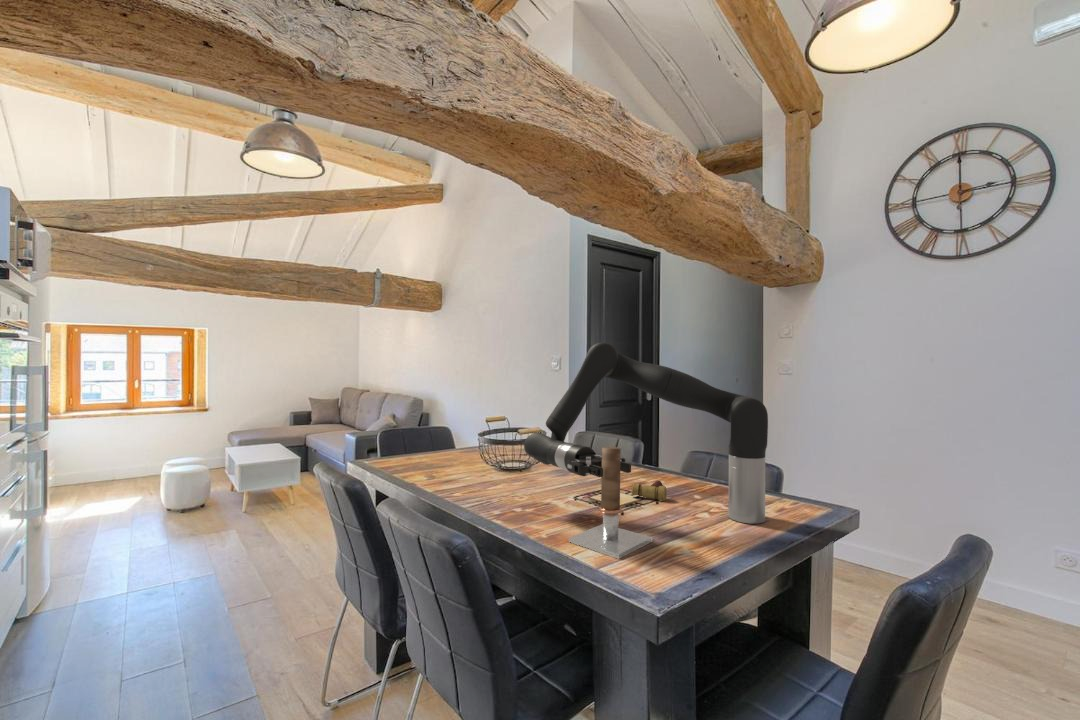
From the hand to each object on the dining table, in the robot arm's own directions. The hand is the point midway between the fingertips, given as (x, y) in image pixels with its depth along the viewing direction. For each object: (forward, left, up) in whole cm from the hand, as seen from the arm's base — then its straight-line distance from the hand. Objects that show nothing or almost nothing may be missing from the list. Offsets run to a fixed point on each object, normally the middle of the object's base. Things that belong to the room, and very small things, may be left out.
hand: (616, 470), depth 112 cm
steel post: (0, -2, -17) cm, 17 cm away
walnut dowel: (0, -2, -9) cm, 9 cm away
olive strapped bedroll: (-47, -17, -18) cm, 53 cm away
